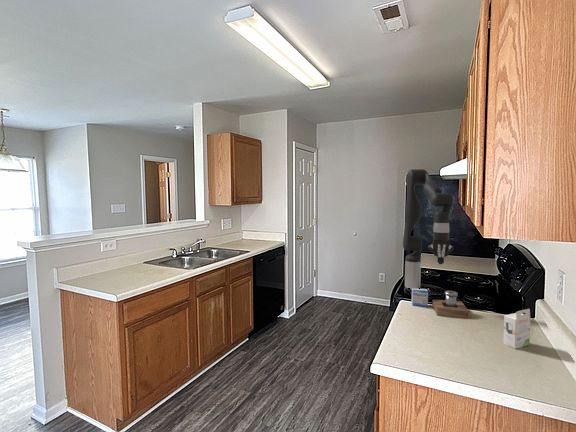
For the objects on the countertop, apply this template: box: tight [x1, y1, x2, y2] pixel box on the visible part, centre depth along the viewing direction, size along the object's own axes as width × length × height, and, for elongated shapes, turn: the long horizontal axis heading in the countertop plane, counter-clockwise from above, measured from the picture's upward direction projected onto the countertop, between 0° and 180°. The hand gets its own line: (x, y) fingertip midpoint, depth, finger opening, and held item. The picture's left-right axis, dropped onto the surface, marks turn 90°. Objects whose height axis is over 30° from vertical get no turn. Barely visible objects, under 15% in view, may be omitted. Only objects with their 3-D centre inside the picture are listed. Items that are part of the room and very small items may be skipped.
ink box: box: [503, 308, 531, 350], centre depth 126 cm, size 9×5×15 cm, turn 111°
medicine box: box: [411, 288, 429, 308], centre depth 173 cm, size 8×4×9 cm, turn 73°
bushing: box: [444, 290, 458, 307], centre depth 162 cm, size 6×6×10 cm
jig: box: [431, 299, 470, 319], centre depth 162 cm, size 14×14×4 cm
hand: (440, 263), depth 168 cm, fingers closed
